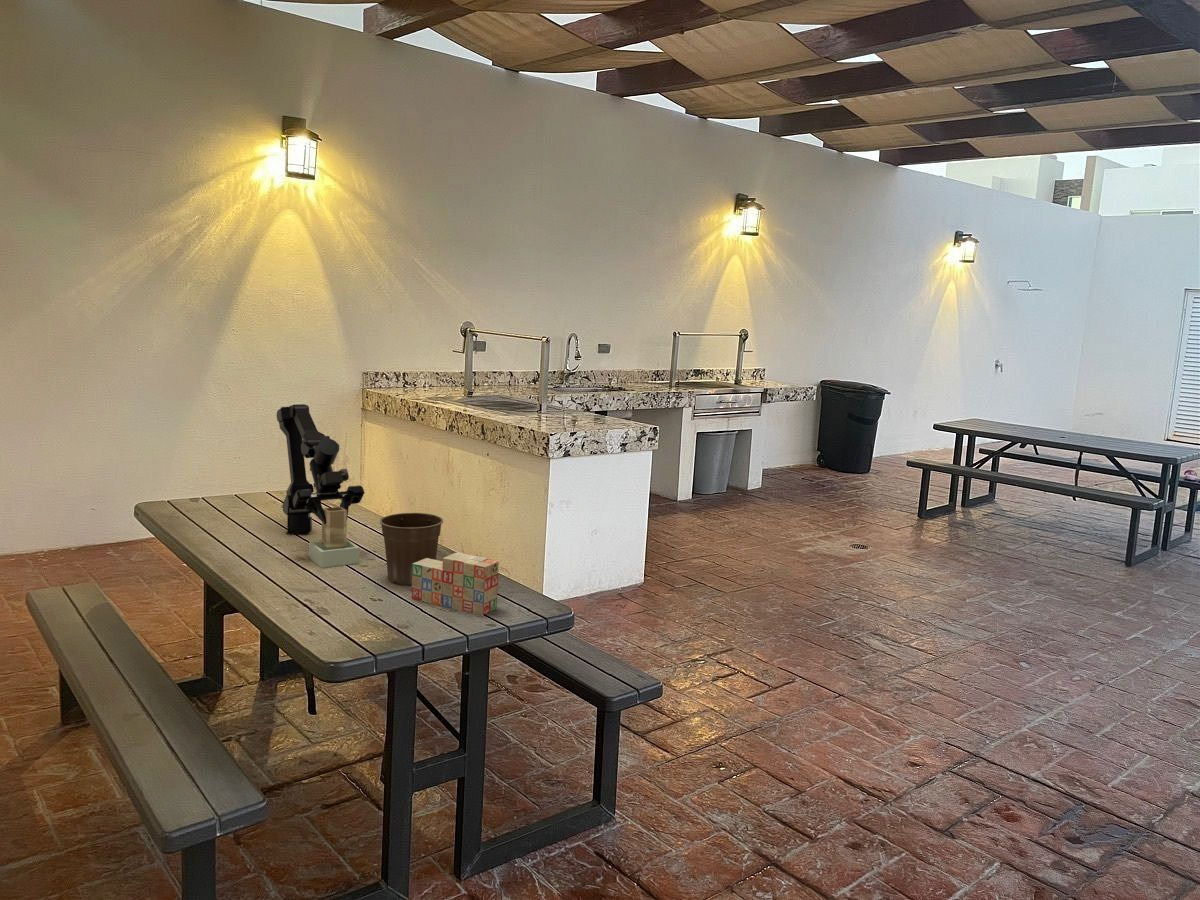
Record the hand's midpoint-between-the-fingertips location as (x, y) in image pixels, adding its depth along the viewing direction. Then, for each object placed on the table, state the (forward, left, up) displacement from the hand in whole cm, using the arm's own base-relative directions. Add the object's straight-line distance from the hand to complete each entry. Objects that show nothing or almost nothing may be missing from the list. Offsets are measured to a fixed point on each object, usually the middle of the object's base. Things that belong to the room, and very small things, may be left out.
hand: (335, 522), depth 252 cm
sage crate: (-1, +1, -11) cm, 11 cm away
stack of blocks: (+33, -35, -12) cm, 49 cm away
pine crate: (-1, +1, -7) cm, 7 cm away
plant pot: (+21, -15, -11) cm, 28 cm away
